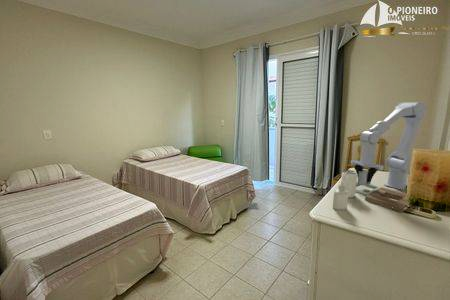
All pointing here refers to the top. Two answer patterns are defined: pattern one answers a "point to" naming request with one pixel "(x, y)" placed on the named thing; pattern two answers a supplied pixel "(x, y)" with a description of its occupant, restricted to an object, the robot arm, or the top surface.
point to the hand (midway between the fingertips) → (364, 180)
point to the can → (349, 182)
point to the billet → (363, 178)
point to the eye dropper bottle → (340, 198)
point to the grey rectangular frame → (368, 192)
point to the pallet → (381, 200)
